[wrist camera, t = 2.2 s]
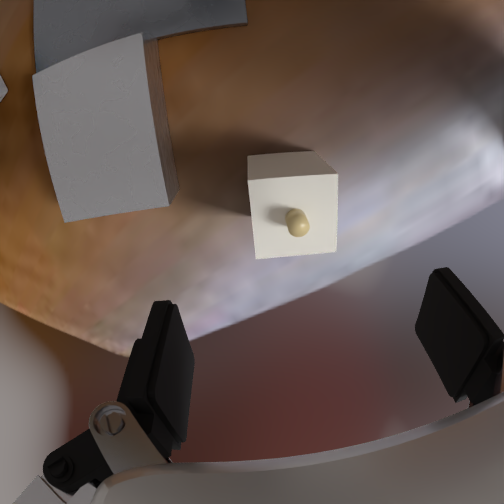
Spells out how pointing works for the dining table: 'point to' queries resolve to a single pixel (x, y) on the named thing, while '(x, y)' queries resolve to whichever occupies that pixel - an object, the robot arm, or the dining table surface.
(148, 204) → the frame
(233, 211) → the dining table surface
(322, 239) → the block
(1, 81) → the light bulb box
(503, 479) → the robot arm
